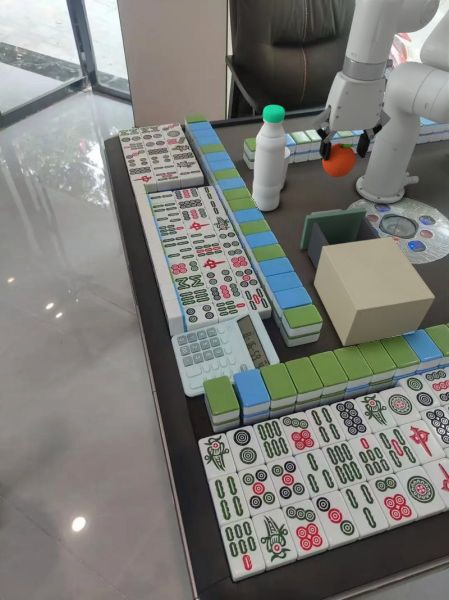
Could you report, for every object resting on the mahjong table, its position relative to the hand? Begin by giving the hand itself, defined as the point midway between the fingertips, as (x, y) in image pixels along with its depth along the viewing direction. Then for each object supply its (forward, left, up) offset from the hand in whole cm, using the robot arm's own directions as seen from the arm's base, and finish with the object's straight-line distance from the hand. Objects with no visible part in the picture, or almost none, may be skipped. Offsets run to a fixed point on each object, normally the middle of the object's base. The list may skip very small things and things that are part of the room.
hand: (342, 155), depth 91 cm
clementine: (0, 0, -5) cm, 5 cm away
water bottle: (+12, -12, -19) cm, 26 cm away
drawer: (+2, +12, -18) cm, 22 cm away
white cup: (+8, -20, -19) cm, 29 cm away
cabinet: (+2, +26, -19) cm, 33 cm away
